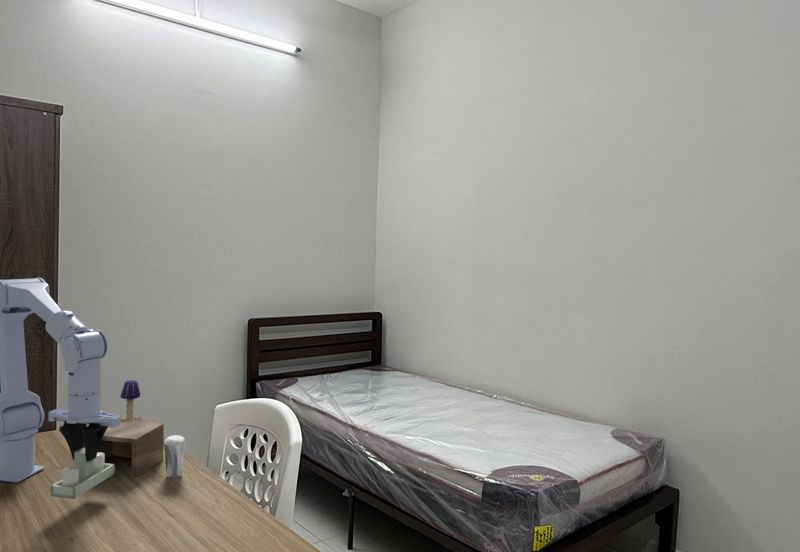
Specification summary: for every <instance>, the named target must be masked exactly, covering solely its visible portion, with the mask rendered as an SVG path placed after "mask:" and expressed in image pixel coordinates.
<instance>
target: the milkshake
mask: <svg viewBox="0 0 800 552" xmlns="http://www.w3.org/2000/svg"><path fill="white" fill-rule="evenodd" d="M187 437H188V433H187V434H186V435H185V437H183V435H174V434H173V435H169V436H167V437H166V438H165V439H164V440H163V449H164V457H165V472H166V474H165V475H166V478H168V479H177V478H180V477H181V476H182V475H183V467H184V456H185V455H184V454H185V447H186V439H187Z"/></svg>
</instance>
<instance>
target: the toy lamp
mask: <svg viewBox="0 0 800 552" xmlns="http://www.w3.org/2000/svg"><path fill="white" fill-rule="evenodd" d="M140 397H141V391H140V387H139V383H138V381H136V380H133V379H132V380H130V379H129V380H126V381H124V384H123V386H122V390H121V393H120V399H124V400H126V405H125V408H126V409H125V414H126V415H125V420H132V421H134V415H133V414H134V407H135V405H134V402H135V399H139V398H140Z"/></svg>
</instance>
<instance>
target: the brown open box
mask: <svg viewBox="0 0 800 552" xmlns="http://www.w3.org/2000/svg"><path fill="white" fill-rule="evenodd" d="M164 425H165V424H164V423H160V422H151V421H141V420H140V421H139V420H126V419H121V425H120V426H118V427H116V428H110V426H109V427H108V428H107V430H106V432H105V433H104V435H103V437H102V440H101V442H100V445H99V448H98V452H101V453H104V454H105V460H106V459H108V458H110V457H112V456H116V457H118V456H119V457H125V458H131V477H132V478H137V477H139V476H140V475H142V474H143V473H145V472H146V471H147V470H149V469H151V468H152V467H153V466H155V465H156V464H158V463H159V462H161V461H162V460H164V438H165V437H164V432H165V431H164V428H165V427H164ZM84 448H85V443H84ZM98 452H97V453H98Z"/></svg>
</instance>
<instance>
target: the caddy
mask: <svg viewBox="0 0 800 552" xmlns="http://www.w3.org/2000/svg"><path fill="white" fill-rule="evenodd" d="M105 461H106V459H105V454H104V453H101V452H98V453H97V456H96V458H95V459H93V460H91V461H86V457H85V448H81V449H79V450H77V451H76V452H75V460H74V466H68V467H64V468H63V469H62V470H61V476H62V477H61V479H60V480H59V481H57V482H55V483H53V484H51V485H50V497H57V498H63V499H70V500H71V499H72V500H75V499H77V498H78V497H79V496H81V495H83V494H84V493H86V492H87V491H89V490H91V489H92V488H94V487H95V486H98V485H99V484H100V483H103V482H104V481H105V480H107V479H108V478H110V477H112V476H113V475H114V474H115V473H116V466H115V463H106V462H105ZM115 475H116V474H115Z"/></svg>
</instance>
